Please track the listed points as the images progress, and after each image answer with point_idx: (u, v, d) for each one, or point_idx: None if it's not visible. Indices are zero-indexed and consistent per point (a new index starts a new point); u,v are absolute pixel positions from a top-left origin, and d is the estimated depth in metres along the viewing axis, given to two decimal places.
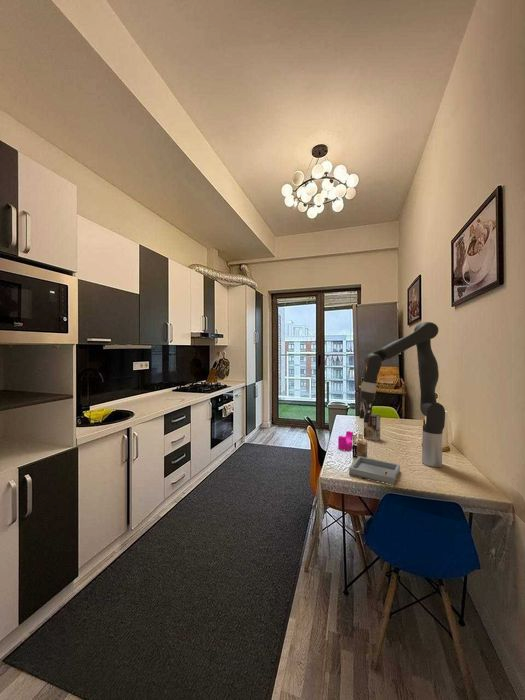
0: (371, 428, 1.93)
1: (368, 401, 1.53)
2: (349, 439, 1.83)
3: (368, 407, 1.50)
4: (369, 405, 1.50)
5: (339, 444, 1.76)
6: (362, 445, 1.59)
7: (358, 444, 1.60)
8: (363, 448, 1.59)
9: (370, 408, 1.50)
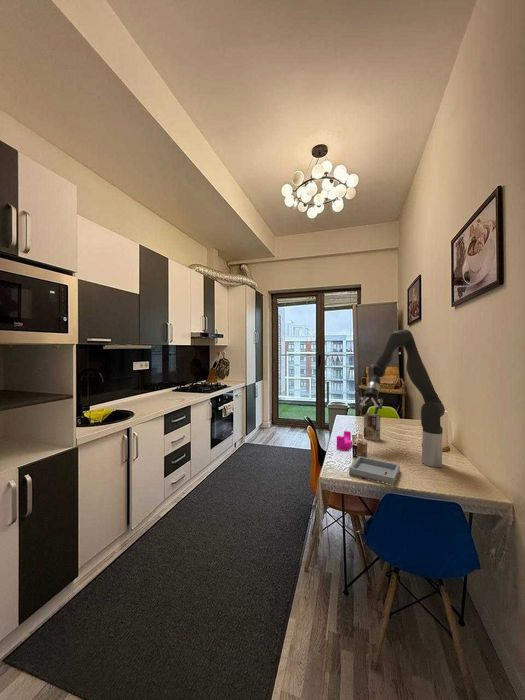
0: (371, 428, 1.93)
1: None
2: (347, 439, 1.84)
3: None
4: None
5: (338, 444, 1.76)
6: (362, 445, 1.59)
7: (358, 444, 1.60)
8: (363, 448, 1.59)
9: None
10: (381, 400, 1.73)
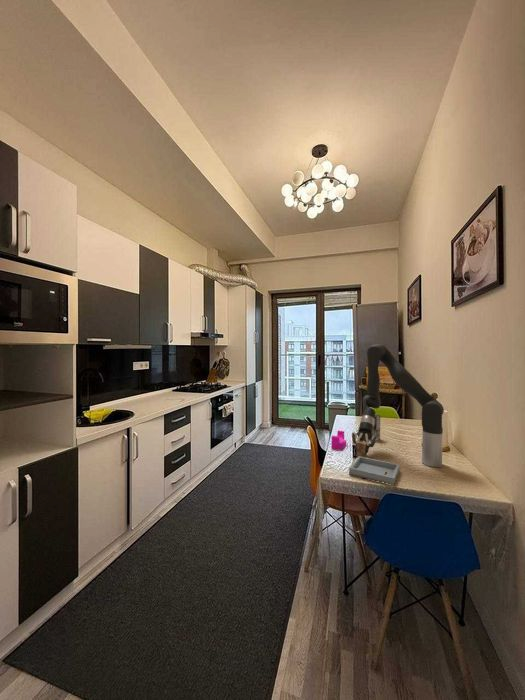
0: None
1: None
2: (341, 438, 1.84)
3: None
4: None
5: (333, 444, 1.76)
6: (362, 445, 1.59)
7: (358, 444, 1.60)
8: (363, 448, 1.59)
9: None
10: (374, 438, 1.61)
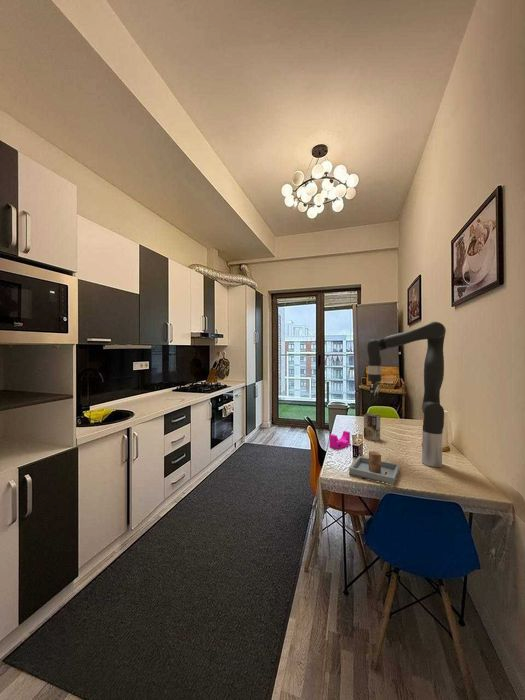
0: (371, 428, 1.93)
1: (372, 382, 1.69)
2: (344, 439, 1.83)
3: (370, 387, 1.66)
4: (371, 385, 1.66)
5: (330, 442, 1.79)
6: (377, 457, 1.40)
7: (373, 456, 1.40)
8: (379, 460, 1.40)
9: (372, 388, 1.66)
10: (378, 384, 1.77)
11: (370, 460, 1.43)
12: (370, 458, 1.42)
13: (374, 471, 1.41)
